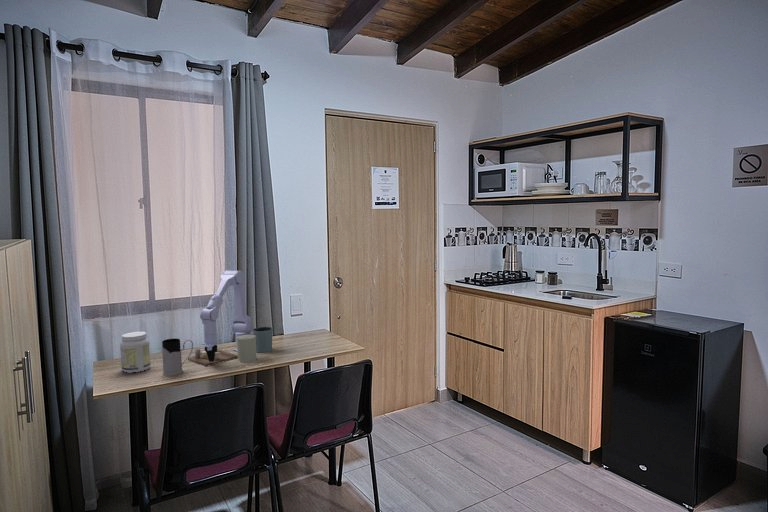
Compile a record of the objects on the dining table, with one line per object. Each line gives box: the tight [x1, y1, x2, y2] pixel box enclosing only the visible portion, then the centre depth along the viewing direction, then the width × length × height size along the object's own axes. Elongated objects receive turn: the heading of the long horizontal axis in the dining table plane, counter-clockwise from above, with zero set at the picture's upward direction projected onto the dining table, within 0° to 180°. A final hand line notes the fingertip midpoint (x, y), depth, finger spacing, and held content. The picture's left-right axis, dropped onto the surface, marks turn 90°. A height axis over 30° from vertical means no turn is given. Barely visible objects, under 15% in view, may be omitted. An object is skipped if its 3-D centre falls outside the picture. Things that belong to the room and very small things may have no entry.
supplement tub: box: [119, 331, 152, 374], centre depth 230 cm, size 12×12×17 cm
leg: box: [200, 350, 219, 360], centre depth 242 cm, size 10×2×3 cm, turn 70°
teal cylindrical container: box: [252, 326, 274, 354], centre depth 257 cm, size 10×10×12 cm
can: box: [237, 335, 258, 363], centre depth 242 cm, size 9×9×12 cm
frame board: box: [187, 348, 238, 367], centre depth 245 cm, size 18×17×5 cm
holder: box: [161, 338, 194, 377], centre depth 226 cm, size 9×14×15 cm, turn 134°
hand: (211, 361), depth 235 cm, fingers closed
